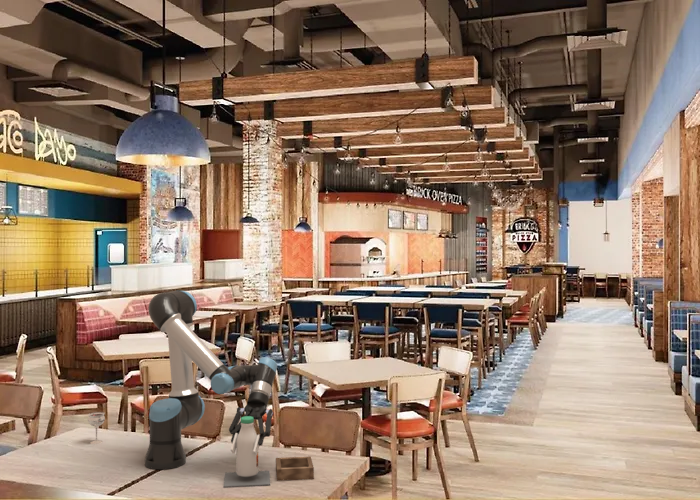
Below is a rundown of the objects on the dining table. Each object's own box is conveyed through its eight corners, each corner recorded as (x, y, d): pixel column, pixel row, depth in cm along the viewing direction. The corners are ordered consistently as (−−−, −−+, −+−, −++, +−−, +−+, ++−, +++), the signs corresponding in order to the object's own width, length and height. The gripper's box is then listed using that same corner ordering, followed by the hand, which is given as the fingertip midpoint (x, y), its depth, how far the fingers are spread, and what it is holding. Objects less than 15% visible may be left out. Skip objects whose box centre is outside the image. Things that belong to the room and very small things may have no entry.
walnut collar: (277, 480, 244) (277, 469, 244) (275, 468, 257) (275, 457, 257) (313, 479, 246) (313, 467, 246) (310, 467, 259) (310, 456, 259)
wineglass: (84, 444, 286) (84, 415, 286) (93, 439, 293) (93, 411, 293) (99, 445, 285) (99, 416, 285) (108, 440, 292) (108, 412, 292)
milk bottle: (253, 477, 241) (253, 420, 240) (233, 476, 242) (232, 419, 242) (261, 470, 248) (261, 415, 248) (240, 469, 250) (240, 414, 249)
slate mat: (223, 487, 237) (223, 486, 237) (225, 473, 251) (225, 472, 251) (270, 485, 239) (270, 484, 239) (269, 471, 253) (269, 470, 253)
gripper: (287, 403, 258) (274, 459, 242) (236, 400, 262) (219, 455, 246) (283, 392, 252) (269, 449, 237) (230, 389, 257) (213, 445, 241)
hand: (243, 452), depth 242 cm, fingers closed on milk bottle, 8 cm apart
